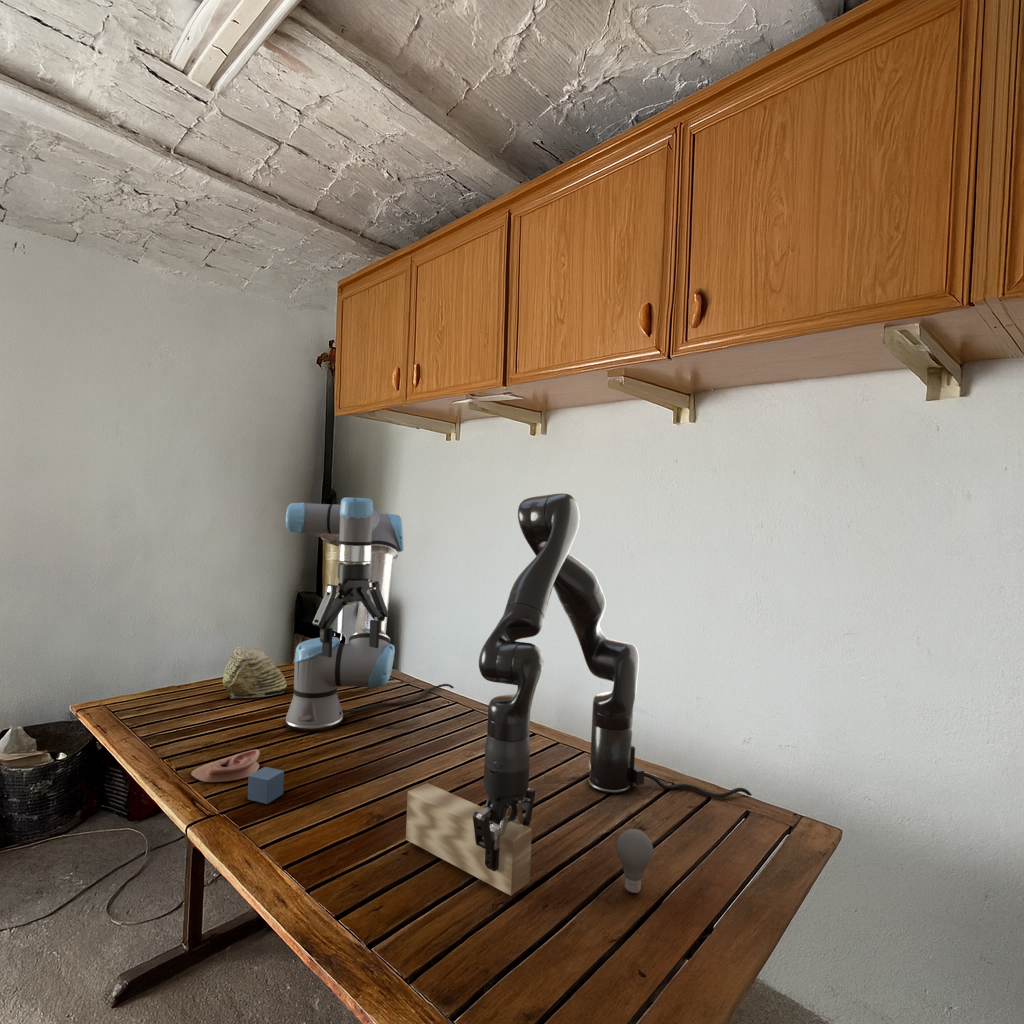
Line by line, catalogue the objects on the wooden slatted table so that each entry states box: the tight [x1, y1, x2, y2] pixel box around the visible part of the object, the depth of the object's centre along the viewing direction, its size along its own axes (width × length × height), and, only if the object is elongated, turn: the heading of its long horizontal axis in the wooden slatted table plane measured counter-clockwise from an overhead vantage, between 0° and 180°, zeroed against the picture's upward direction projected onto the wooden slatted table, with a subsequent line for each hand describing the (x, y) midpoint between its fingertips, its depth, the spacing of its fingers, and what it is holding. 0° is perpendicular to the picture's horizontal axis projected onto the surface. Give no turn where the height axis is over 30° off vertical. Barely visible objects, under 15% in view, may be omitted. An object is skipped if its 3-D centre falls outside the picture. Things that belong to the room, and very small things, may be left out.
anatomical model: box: [190, 748, 261, 783], centre depth 143 cm, size 13×4×12 cm
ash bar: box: [405, 782, 533, 897], centre depth 111 cm, size 25×5×9 cm, turn 51°
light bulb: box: [615, 828, 654, 894], centre depth 106 cm, size 6×6×10 cm
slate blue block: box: [247, 766, 285, 805], centre depth 133 cm, size 5×5×5 cm
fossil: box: [222, 646, 288, 699], centre depth 198 cm, size 9×18×15 cm, turn 132°
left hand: (351, 651), depth 151 cm, fingers open, 13 cm apart
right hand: (502, 861), depth 106 cm, fingers open, 5 cm apart
